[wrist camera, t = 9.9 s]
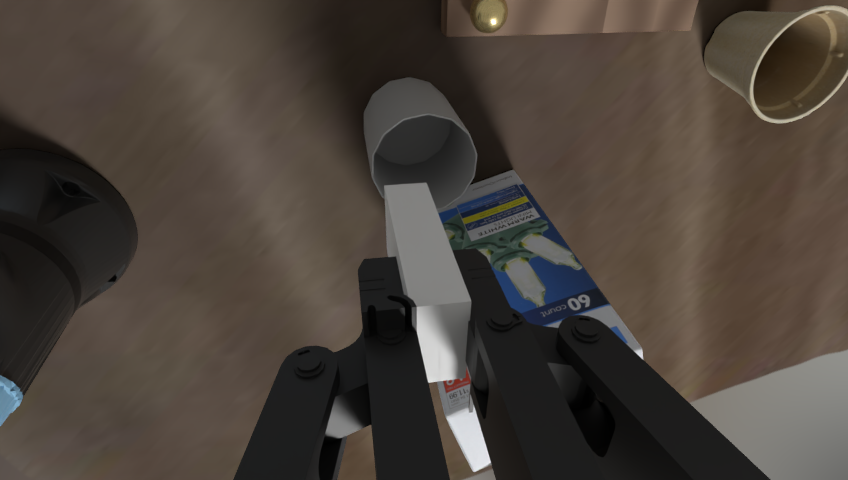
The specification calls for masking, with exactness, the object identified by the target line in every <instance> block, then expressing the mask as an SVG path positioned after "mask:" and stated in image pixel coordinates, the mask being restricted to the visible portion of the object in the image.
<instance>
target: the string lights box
mask: <svg viewBox="0 0 848 480" xmlns="http://www.w3.org/2000/svg"><path fill="white" fill-rule="evenodd" d="M437 212H438V214H439V217H440V220H441V222H442V225H443V228H444V230H445V233H446V235H447V238H448V241H449V243H450V246H451V249H452V250H461V249H472V248H476V249H478V250H479V251H480V252H481V253H483V254H484V255H485V256H486V257H487V259H488V261H489V263H490V265H491V267H492V269H493V271H494V273H495V275H496V278H497V280H498V282H499V284H500V286H501V288H502V290H503V292H504V294H505V297H506V299H507V301H508V303H509V305H510V307H511V308H513V309H515V310H517V311H518V312H520V313H521V314H522V315H523V316H524V318H525V319H526V321H527V322H529V323H532V324H536V325H540V326H548V327H556V328H558V327H559V325H560V323H561V321H562V320H563V319H565V318H567V317H569V316H573V315H584V316H590V317H592V318H595V319H598V320H600V321H601V322H602V323H604V324H605V325H607V326H608V327H609V328H610V329H611V330H612V331H613V332H614V333H615V334H616V335H617V336H618V337H619V338H620V339H622V340H623V341H624V342H625V343H626V344H627V345H628V346H629V347H630V348H631V349H632V350H633V351H634V352H635V353H636V354H637V355H639V356H640V357H641V358H642V359H643V352H642V348H641V346H640V345H639V343H638V342H637V341H636V339H635V338H634V336H633V335H632V334H631V332H630V331H629V329H628V328H627V327H626V325H625V324H624V323H623V321H622V320H621V318H620V317H619V316H618V314H617V313H616V312H615V310H614V309H613V307H612V306H611V305H610V303H609V302H608V300H607V299H606V298H605V296H604V295H603V293H602V292H601V291H600V289H599V288H598V287H597V285H596V284H595V282H594V281H593V280H592V278H591V277H590V275H589V274H588V273H587V271H586V270H585V268H584V267H583V266H582V264H581V263H580V261H579V260H578V259H577V257H576V256H575V255H574V253H573V252H572V250H571V249H570V248H569V246H568V245H567V243H566V242H565V241H564V239H563V238H562V236H561V235H560V234H559V232H558V231H557V229H556V228H555V227H554V225H553V224H552V222H551V221H550V220H549V218H548V217H547V216H546V214H545V213H544V211H543V210H542V209H541V207H540V206H539V205H538V203H537V202H536V200H535V199H534V197H533V196H532V195H531V193H530V192H529V190H528V189H527V188H526V186H525V185H524V183H523V182H522V181H521V179H520V178H519V177H518V175H517V174H516V172H515V171H514V170H510V171H507V172H505V173H502V174H499V175H496V176H494V177H491V178H488V179H485V180H482V181H480V182H477V183H474V184H471V185H469V186H468V188H467V190H466V191H465V193H464V194H463V196H461V197H460V198H459V199H457V200H456V201H454V202H453V203H451V204H450V205H448V206H447V207H446V208H444V209H440V210H437ZM470 382H471V377H470V374H469V370H468V367H466V378H461V379H453V380H445V381H438V382H437V384H438V388H439V392H440V397H441V401H442V405H443V409H444V413H445V417H446V419H447V421H448V423H449V425H450V427H451V429H452V431H453V433H454V435H455V437H456V439H457V441H458V443H459V445H460V447H461V449H462V451H463V453H464V455H465V457H466V459H467V461H468V463H469V465H470V467H471V469H472V470H473V471H474V472H475V471H478V470H480V469H483V468H485V467H487V466H489V465H492V464H491V461H490V458H489V454H488V451H487V448H486V444H485V441H484V438H483V434H482V431H481V428H480V424H479V421H478V418H477V414H476V411H475V408H474V405H473V412H471V413H469V394H470Z"/></svg>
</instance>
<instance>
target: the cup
mask: <svg viewBox="0 0 848 480" xmlns="http://www.w3.org/2000/svg"><path fill="white" fill-rule="evenodd" d="M364 136H365V142H366V148H367V153H368V159H369V165H370V170H371V176H372V179H373V181H374V183H375V185H376V187H377V189H378V191H379V193H380V194H381V196H382V198H384V199H385V191H384V185H399V184H413V183H427V185H428V188H429V191H430V193H431V196H432V199H433V201H434V204H435V206H436V209H437V210H440V209H444V208H446V207H447V206H448V205H450V204H451V203H453V202H454V201H456V200H457V199H459V198H460V197H461V196H463V194H464V193H465V191H466V190H467V188H468V186H469V185H470V183H471V182H472V180H473V179H474V177H475V171H476V163H477V155H478V154H477V152H476V149H475V146H474V144H473V141H472V138H471V136H470V133H469V132H468V130H467V129H466V127H465V126H464V124H463V123H462V121H461V120H460V118H459V117H458V115H457V114H456V112H455V111H454V109H453V108H452V106H451V105H450V103H449V102H448V100H447V99H446V97H445V96H444V95H443V94H442V93H441V92H440V91H439V90H438V89H436V88H435V87H434V86H433V85H432V84H431V83H430V82H427V81H423V80H419V79H415V78H411V77H407V78H403V79H398V80H393V81H389V82H388V83H386V84H385V85H384V86H383V87H381V88H380V89H379V90H377V91H376V92H375V93H374V94H373V95H372V97H371V99H370V101H369V103H368V105H367V107H366V109H365V111H364Z"/></svg>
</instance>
